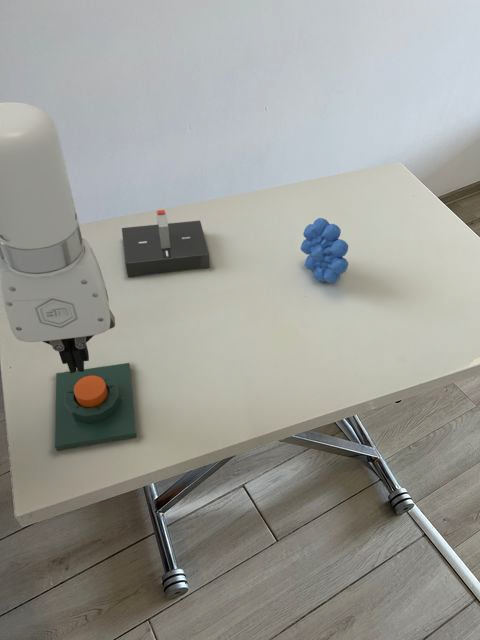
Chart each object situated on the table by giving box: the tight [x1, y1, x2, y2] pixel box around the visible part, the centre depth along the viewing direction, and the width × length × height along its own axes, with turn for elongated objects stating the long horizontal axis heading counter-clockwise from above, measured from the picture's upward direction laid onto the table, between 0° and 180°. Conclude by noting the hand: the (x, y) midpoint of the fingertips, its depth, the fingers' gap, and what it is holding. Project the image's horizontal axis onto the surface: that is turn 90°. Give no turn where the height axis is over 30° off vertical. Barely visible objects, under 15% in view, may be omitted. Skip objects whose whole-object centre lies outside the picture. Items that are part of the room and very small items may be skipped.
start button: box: [74, 376, 108, 408], centre depth 69 cm, size 4×4×2 cm
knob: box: [155, 209, 170, 249], centre depth 90 cm, size 5×2×5 cm, turn 13°
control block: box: [54, 362, 138, 452], centre depth 71 cm, size 10×12×3 cm
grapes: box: [300, 217, 349, 284], centre depth 87 cm, size 12×7×12 cm, turn 29°
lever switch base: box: [121, 219, 211, 278], centre depth 93 cm, size 14×10×3 cm
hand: (77, 363), depth 65 cm, fingers closed
